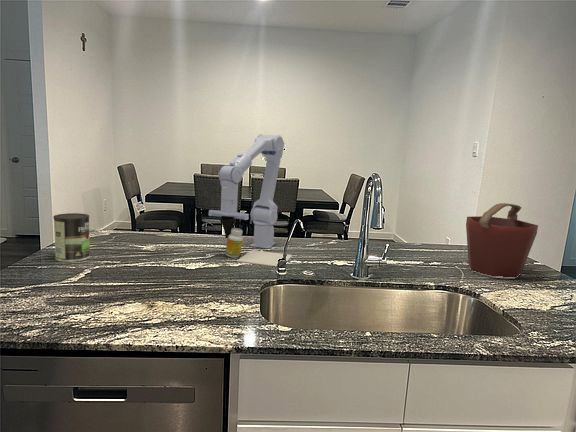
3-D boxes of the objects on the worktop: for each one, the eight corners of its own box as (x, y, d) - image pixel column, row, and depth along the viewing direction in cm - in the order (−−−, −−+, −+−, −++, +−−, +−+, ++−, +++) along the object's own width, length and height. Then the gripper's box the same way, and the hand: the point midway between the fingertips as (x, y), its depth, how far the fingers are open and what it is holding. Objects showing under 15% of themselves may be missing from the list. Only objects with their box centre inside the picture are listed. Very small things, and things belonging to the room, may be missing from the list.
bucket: (494, 262, 163) (503, 199, 158) (548, 280, 143) (560, 208, 138) (446, 266, 153) (454, 199, 149) (496, 285, 133) (507, 209, 129)
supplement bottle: (232, 259, 146) (237, 233, 143) (221, 253, 148) (226, 228, 146) (242, 256, 150) (247, 231, 148) (231, 251, 153) (236, 226, 151)
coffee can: (95, 254, 141) (95, 214, 139) (80, 263, 131) (79, 219, 129) (66, 252, 141) (64, 212, 139) (48, 261, 131) (46, 217, 129)
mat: (251, 251, 158) (252, 250, 158) (292, 256, 154) (292, 255, 154) (236, 261, 143) (236, 260, 143) (281, 267, 139) (281, 266, 139)
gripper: (205, 199, 144) (204, 237, 146) (244, 203, 141) (242, 242, 143) (214, 197, 151) (212, 233, 153) (251, 201, 148) (249, 238, 150)
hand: (227, 237), depth 148 cm, fingers closed
